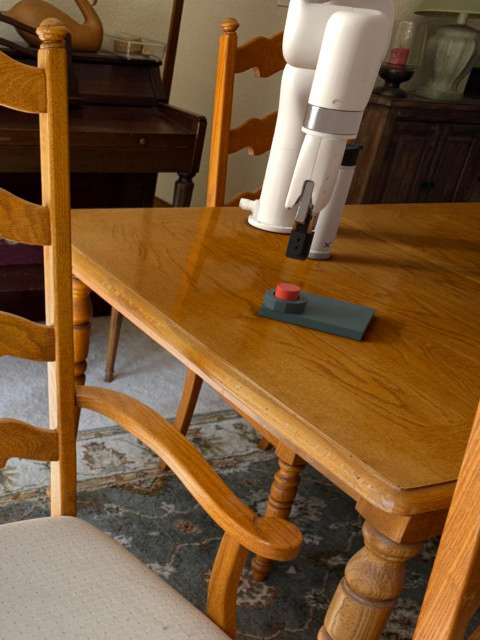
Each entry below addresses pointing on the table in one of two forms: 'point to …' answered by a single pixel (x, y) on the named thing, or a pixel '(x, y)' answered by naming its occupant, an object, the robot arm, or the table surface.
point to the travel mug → (334, 206)
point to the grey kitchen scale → (319, 313)
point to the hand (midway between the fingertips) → (296, 257)
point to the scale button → (287, 291)
